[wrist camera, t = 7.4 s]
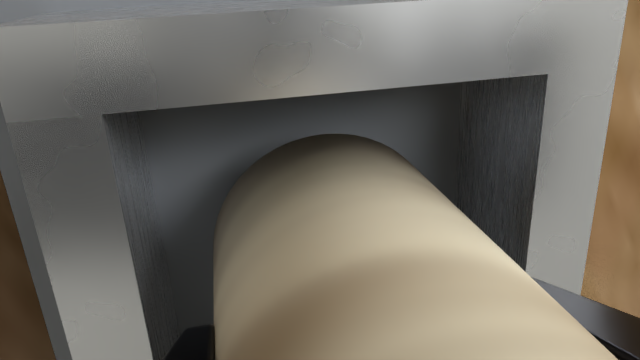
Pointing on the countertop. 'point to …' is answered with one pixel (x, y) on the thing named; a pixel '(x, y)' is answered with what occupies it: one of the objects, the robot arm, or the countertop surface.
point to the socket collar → (294, 81)
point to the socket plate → (234, 161)
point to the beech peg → (370, 268)
